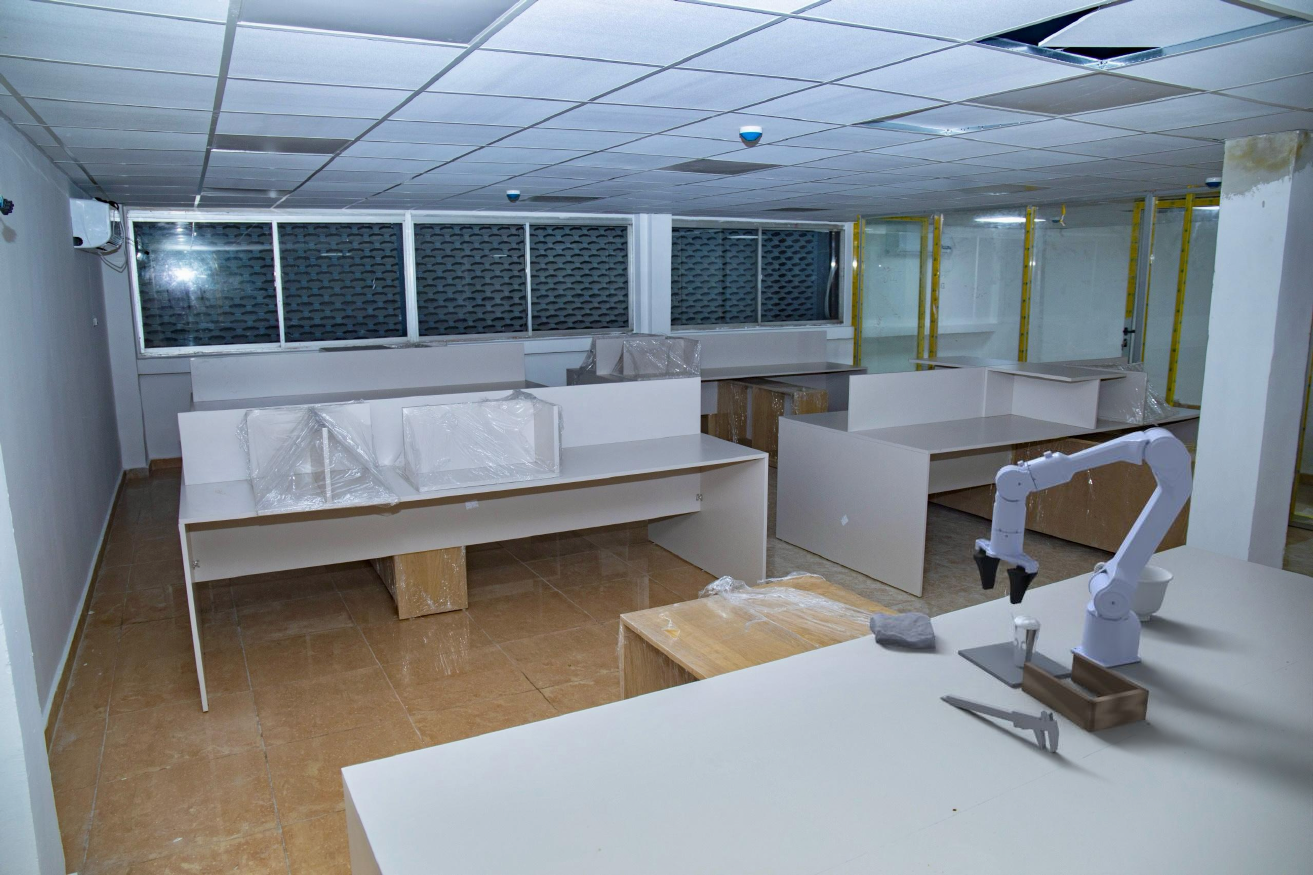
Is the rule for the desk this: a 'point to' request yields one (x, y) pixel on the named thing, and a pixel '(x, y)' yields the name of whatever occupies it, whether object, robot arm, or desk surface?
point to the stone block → (903, 629)
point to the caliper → (1015, 718)
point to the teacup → (1148, 590)
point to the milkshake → (1024, 639)
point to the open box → (1110, 709)
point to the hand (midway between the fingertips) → (1001, 595)
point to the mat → (1009, 663)
